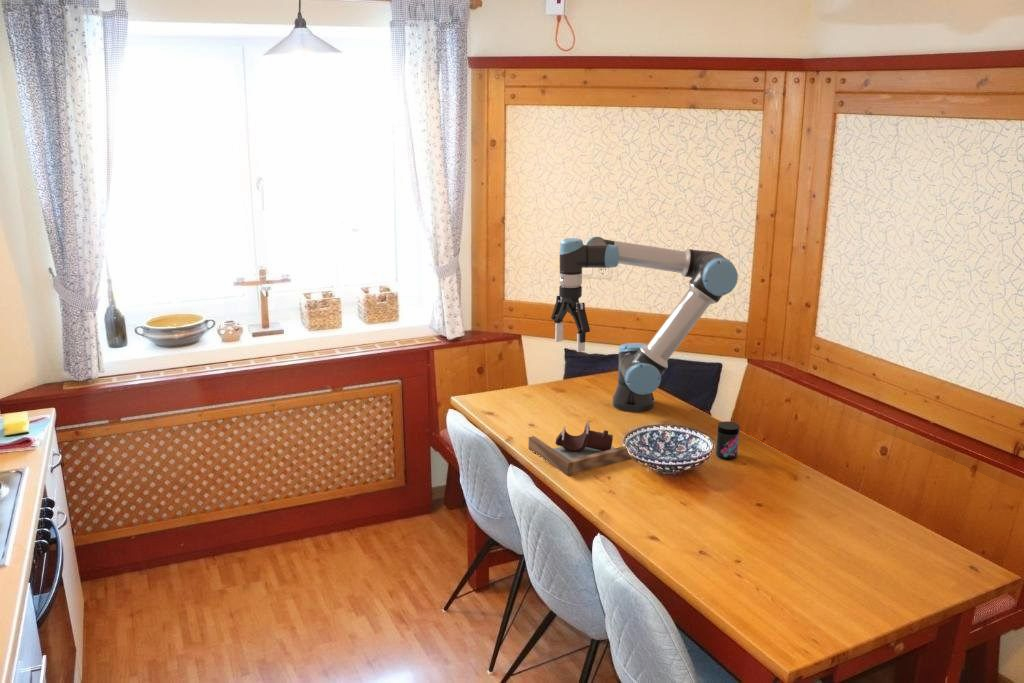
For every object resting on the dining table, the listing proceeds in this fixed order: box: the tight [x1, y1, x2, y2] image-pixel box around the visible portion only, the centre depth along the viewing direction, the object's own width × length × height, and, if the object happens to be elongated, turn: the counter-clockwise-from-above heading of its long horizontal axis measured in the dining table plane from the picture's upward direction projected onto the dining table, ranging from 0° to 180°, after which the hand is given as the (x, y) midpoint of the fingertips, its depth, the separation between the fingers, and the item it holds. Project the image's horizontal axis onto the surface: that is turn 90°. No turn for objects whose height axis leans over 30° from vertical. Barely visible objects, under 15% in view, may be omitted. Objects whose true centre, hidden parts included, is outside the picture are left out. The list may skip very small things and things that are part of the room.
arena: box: [528, 435, 633, 477], centre depth 273 cm, size 24×23×4 cm
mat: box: [553, 446, 616, 460], centre depth 276 cm, size 20×11×1 cm, turn 119°
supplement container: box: [715, 420, 741, 461], centre depth 270 cm, size 7×7×10 cm
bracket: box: [555, 419, 614, 452], centre depth 273 cm, size 6×17×10 cm
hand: (569, 346), depth 294 cm, fingers open, 13 cm apart
